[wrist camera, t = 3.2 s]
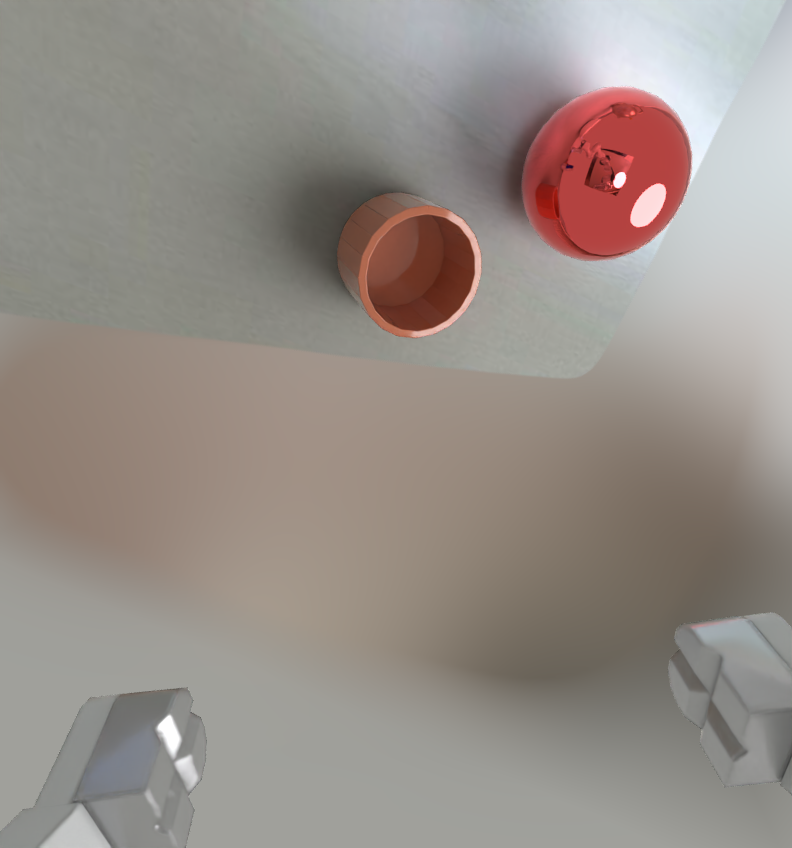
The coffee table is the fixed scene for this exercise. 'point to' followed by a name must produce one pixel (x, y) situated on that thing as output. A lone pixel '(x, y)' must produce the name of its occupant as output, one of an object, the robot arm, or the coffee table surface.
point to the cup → (409, 263)
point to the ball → (606, 173)
